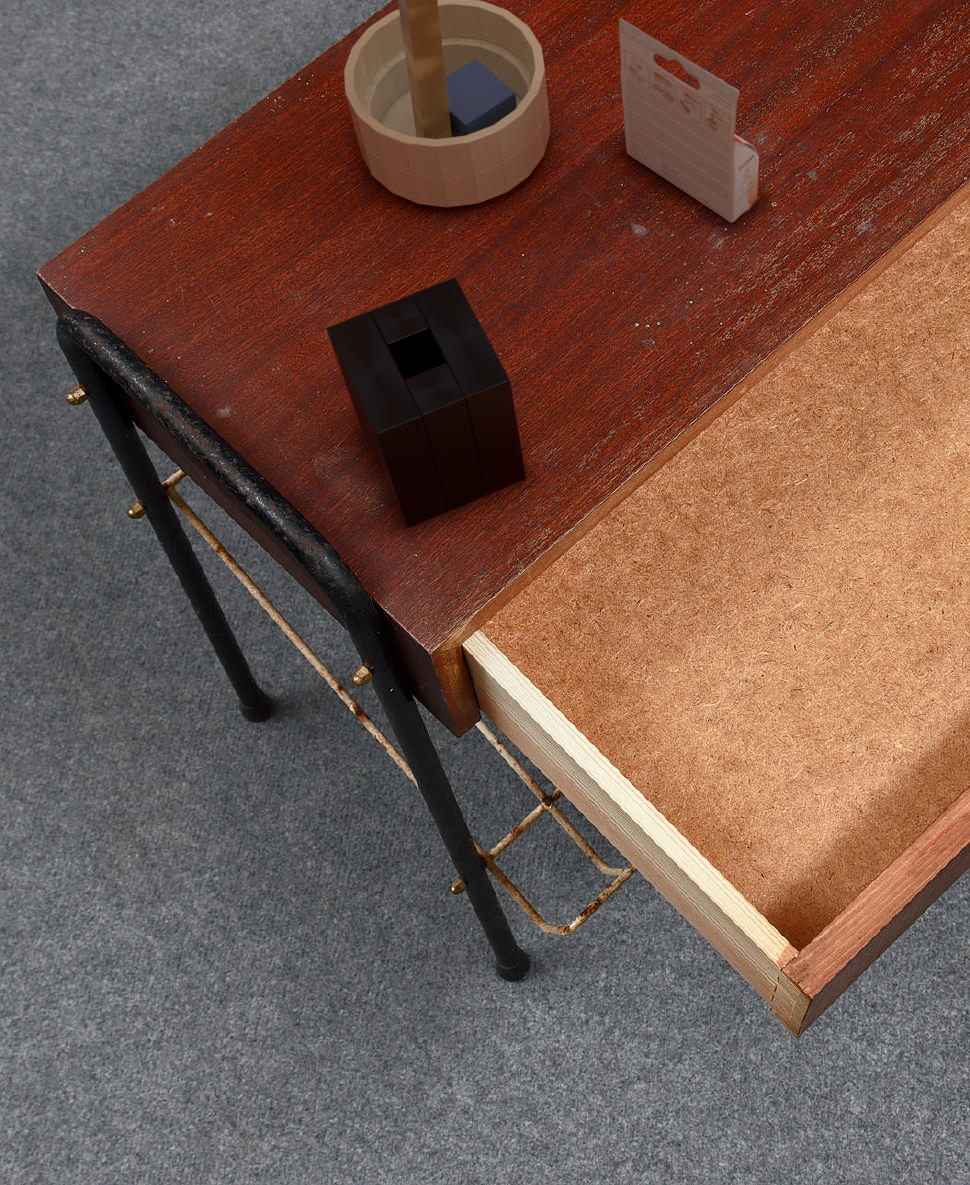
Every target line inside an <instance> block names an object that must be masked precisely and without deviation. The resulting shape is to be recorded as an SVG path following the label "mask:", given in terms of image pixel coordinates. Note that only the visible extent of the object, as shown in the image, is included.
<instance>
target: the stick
mask: <svg viewBox="0 0 970 1185" xmlns="http://www.w3.org/2000/svg"><path fill="white" fill-rule="evenodd" d="M397 3H398V9H399V12H400V19H401V26H402V34H403V41H404V49H405V56H406V63H407V71H408V78H409V85H410V93H411V100H412V107H413V115H414V122H415V129H416V137H421V138H429V139H443V138H451V137H452V133H451V124H450V114H449V105H448V95H447V86H446V76H445V67H444V57H443V48H442V38H441V29H440V19H439V10H438V1H437V0H397Z"/></svg>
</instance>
